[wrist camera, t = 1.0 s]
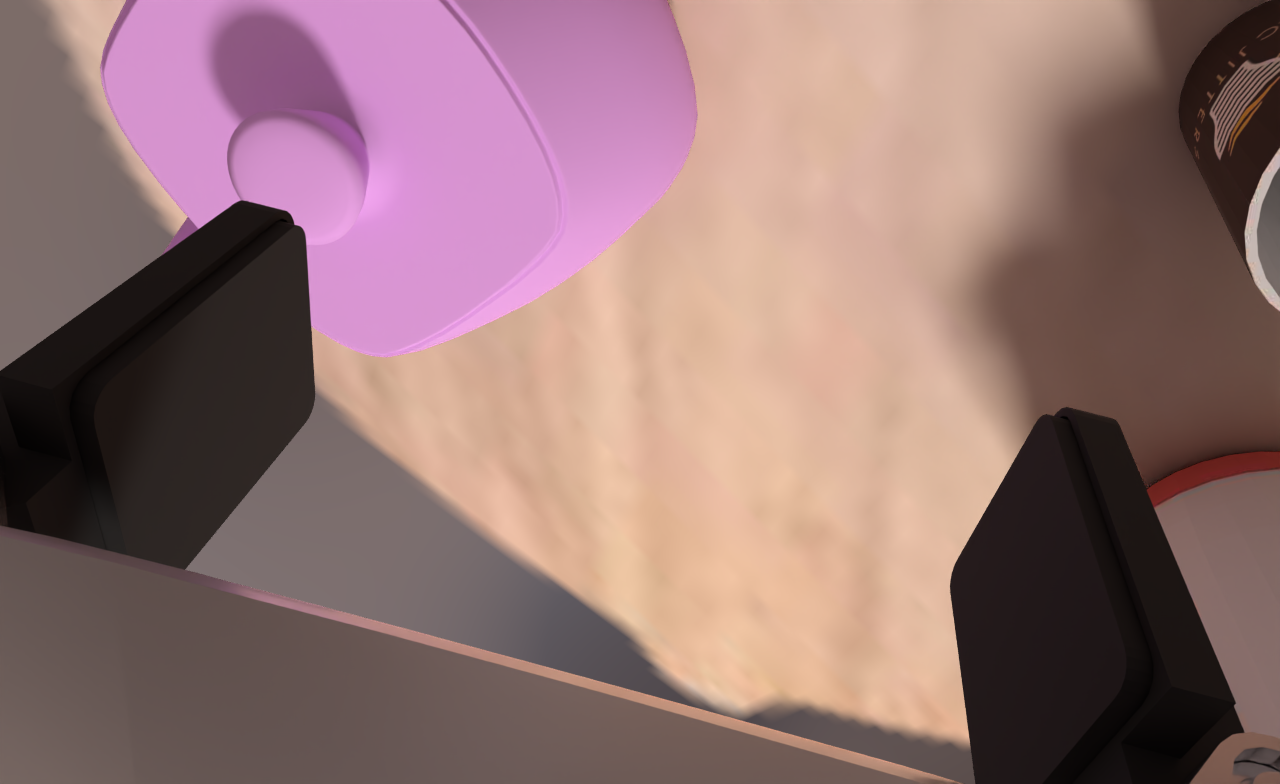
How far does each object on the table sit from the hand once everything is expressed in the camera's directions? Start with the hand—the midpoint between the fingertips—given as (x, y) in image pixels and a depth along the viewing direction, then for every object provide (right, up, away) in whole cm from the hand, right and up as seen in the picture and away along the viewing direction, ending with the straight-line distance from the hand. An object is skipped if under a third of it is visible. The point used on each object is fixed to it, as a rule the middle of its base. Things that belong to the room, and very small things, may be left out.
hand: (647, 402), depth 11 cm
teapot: (-7, +14, +25) cm, 29 cm away
